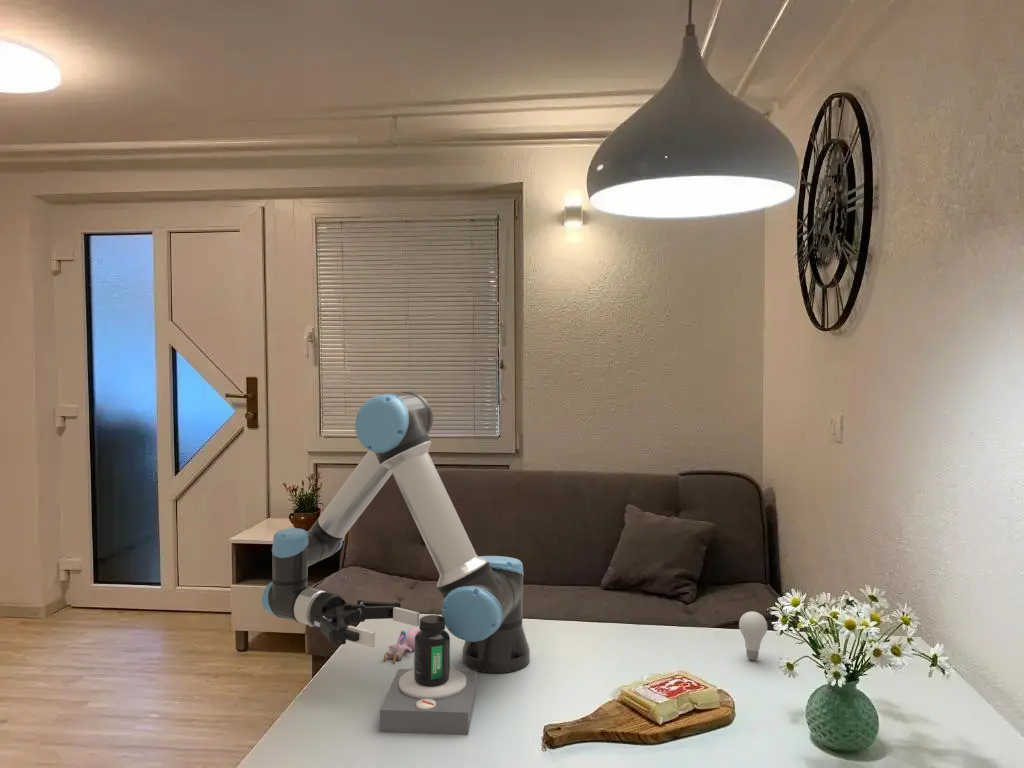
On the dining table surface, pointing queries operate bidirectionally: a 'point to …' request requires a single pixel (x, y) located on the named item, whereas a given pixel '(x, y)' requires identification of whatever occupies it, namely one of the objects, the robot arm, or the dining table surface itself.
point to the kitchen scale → (429, 704)
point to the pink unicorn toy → (402, 644)
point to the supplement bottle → (431, 652)
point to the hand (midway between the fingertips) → (396, 629)
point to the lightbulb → (752, 632)
